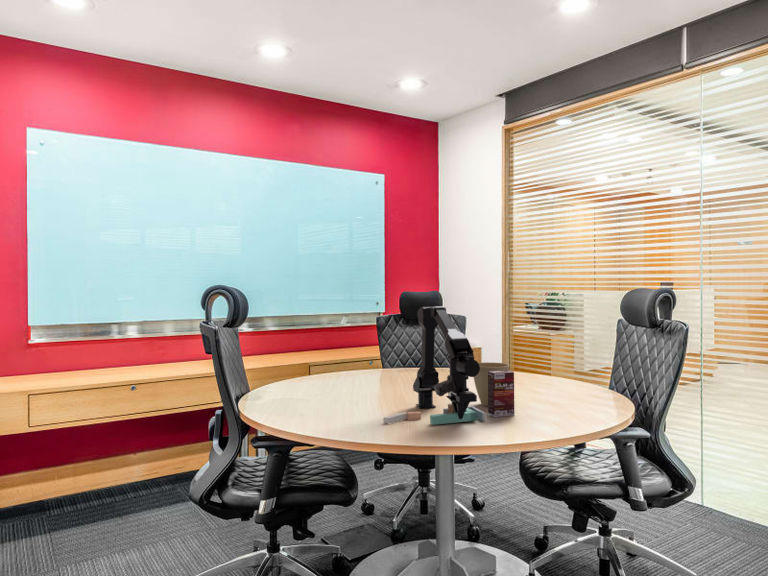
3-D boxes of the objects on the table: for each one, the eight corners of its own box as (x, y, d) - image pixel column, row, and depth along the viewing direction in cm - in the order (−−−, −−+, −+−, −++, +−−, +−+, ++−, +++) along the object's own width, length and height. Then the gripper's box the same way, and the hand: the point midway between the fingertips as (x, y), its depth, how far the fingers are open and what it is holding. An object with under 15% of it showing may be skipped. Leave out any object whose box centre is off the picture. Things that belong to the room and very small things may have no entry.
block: (448, 417, 195) (447, 403, 195) (461, 416, 196) (460, 402, 196) (452, 420, 190) (452, 406, 190) (466, 419, 191) (465, 405, 191)
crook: (424, 418, 192) (424, 410, 192) (466, 414, 196) (466, 407, 196) (432, 424, 184) (432, 416, 184) (476, 420, 187) (476, 412, 187)
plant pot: (510, 409, 206) (509, 367, 206) (471, 408, 209) (470, 367, 209) (509, 401, 221) (508, 362, 221) (472, 400, 224) (472, 361, 224)
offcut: (407, 419, 194) (407, 412, 194) (419, 418, 195) (419, 411, 195) (408, 420, 192) (408, 413, 192) (420, 419, 193) (420, 412, 193)
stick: (383, 424, 188) (383, 417, 188) (402, 419, 195) (402, 412, 195) (388, 425, 187) (388, 418, 187) (407, 419, 194) (407, 413, 194)
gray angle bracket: (442, 416, 197) (442, 407, 197) (472, 413, 200) (471, 405, 200) (453, 423, 185) (453, 415, 185) (485, 421, 188) (485, 412, 188)
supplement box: (494, 417, 193) (493, 373, 193) (487, 414, 198) (486, 371, 198) (515, 415, 196) (514, 371, 196) (508, 412, 200) (507, 370, 200)
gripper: (427, 370, 194) (428, 413, 194) (445, 378, 176) (446, 426, 176) (456, 368, 197) (457, 411, 197) (477, 376, 179) (478, 423, 179)
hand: (458, 418), depth 187 cm, fingers closed on crook, 2 cm apart
